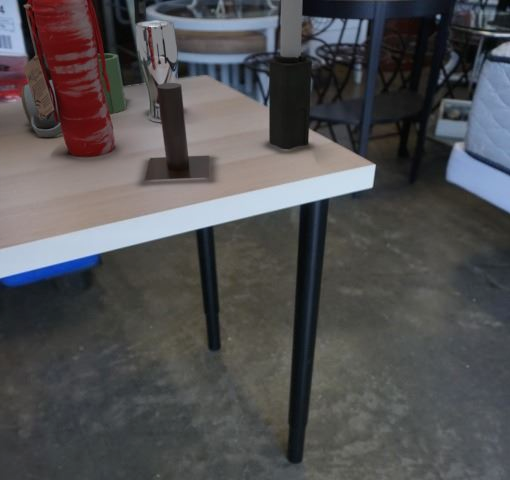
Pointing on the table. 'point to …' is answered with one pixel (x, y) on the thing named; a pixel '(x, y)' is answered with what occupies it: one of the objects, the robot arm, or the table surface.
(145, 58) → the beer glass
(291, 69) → the candle
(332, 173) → the table surface
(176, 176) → the walnut peg
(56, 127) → the ceramic mug
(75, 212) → the table surface
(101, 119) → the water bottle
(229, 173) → the table surface
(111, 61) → the green ring
